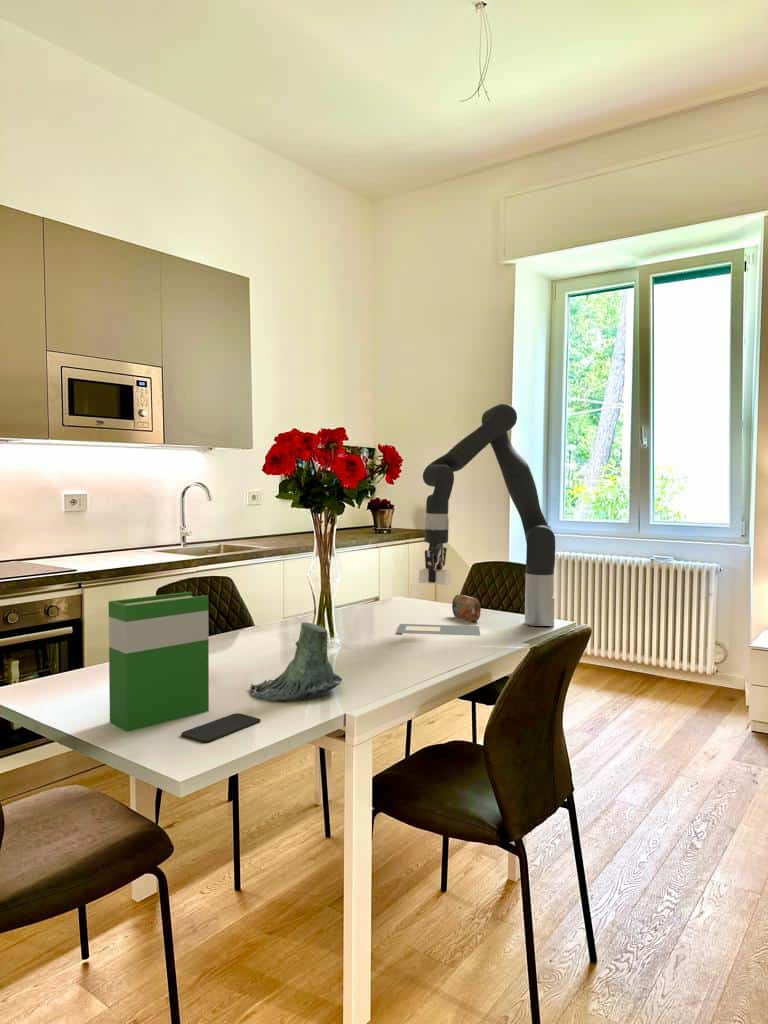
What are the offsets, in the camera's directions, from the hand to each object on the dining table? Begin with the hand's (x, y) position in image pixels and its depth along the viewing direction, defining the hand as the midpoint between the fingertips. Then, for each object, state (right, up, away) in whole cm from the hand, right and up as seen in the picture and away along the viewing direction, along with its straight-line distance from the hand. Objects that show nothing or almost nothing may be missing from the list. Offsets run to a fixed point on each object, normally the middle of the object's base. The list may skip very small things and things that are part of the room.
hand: (434, 580), depth 227 cm
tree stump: (-36, -19, -64) cm, 76 cm away
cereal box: (-61, -20, -82) cm, 105 cm away
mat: (+1, -16, +1) cm, 16 cm away
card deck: (0, -1, 0) cm, 1 cm away
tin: (+12, -16, +19) cm, 28 cm away
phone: (-47, -20, -89) cm, 103 cm away
